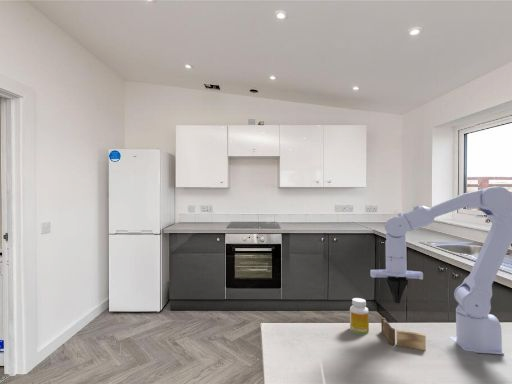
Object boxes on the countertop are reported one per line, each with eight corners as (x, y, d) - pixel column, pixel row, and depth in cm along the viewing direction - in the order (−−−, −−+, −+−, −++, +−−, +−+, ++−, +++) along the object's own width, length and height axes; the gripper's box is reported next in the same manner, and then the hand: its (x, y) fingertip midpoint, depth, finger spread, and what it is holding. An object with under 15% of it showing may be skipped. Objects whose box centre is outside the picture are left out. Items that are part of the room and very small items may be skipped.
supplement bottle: (371, 336, 84) (371, 303, 85) (353, 336, 85) (352, 302, 85) (365, 328, 90) (364, 297, 90) (347, 328, 90) (347, 296, 90)
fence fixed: (385, 333, 87) (385, 317, 87) (396, 347, 78) (395, 330, 78) (380, 333, 87) (380, 317, 87) (389, 347, 78) (389, 330, 78)
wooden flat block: (396, 345, 78) (396, 331, 78) (396, 343, 79) (396, 329, 79) (425, 350, 75) (425, 335, 76) (425, 348, 76) (424, 334, 76)
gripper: (374, 258, 84) (375, 305, 84) (427, 260, 82) (428, 308, 82) (368, 254, 91) (368, 297, 91) (417, 255, 89) (417, 299, 89)
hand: (396, 302), depth 87 cm, fingers closed
